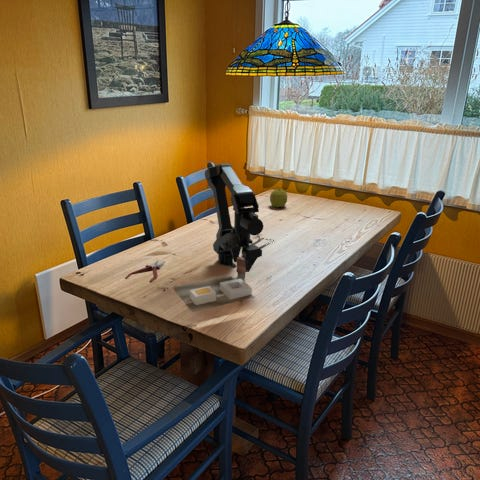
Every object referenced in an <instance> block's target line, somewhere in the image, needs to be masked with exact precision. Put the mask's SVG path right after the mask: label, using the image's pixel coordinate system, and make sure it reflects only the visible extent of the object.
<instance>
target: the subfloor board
mask: <svg viewBox="0 0 480 480" xmlns="http://www.w3.org/2000/svg"><path fill="white" fill-rule="evenodd" d="M230 280H235V278H233V277H232V276H231V275H227V276H222V277H217V278H213V279H208V280H203V281H198V282H194V283H188V284H185V285H184V284H183V285H179V286H175V287H174V286H173V287H172V288H173V290H174V291H175V293H176V294H177V295H178V296H179V297H180V298H181V299H182V302H184V303H185V305H186V306H187V307H188V308H189V310H190V311H191V312H192V313H194V312H199V311H202V310H206V309H210V308H215V307H219V306H224V305H228V304H233V303H236V302H240V301H244V300H249V299H253V298H255V296H254V295H253V294H252V295H247V296H243V297H239V298H235V299H229V298H228V297H227V296H226V295H225V294H224V293H223V292H222V291H221V290H220V283H221V282H225V281H230ZM207 286H210V287H211V288H212V289H213V290H214V291H215V292H216V301H212V302H208V303H203V304H199V305H195V304H194V303H193V301H192V300H191V299H190V290H193V289H198V288H203V287H207Z"/></svg>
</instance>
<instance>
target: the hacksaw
mask: <svg viewBox="0 0 480 480" xmlns="http://www.w3.org/2000/svg"><path fill="white" fill-rule="evenodd" d="M256 236H258V239H257V241H254V242H253V243H251V244H249V246H253V245H256V244H258V243H260V242H261V241H263V240H264V238H265V237H264V238H263V237H260V235H259V234H258V235H256ZM265 239H266V240H267V241H271V240H273V241H274V239H269V238H265ZM268 239H269V240H268ZM273 241H272V242H273ZM274 242H275V241H274ZM266 244H267V243H264V244H263V245H260V246H258V247H259V248H260V249H262V248H264V247H266V246H268V245H269V244H267V245H266ZM242 249H243V248H242V247H241V250H242Z"/></svg>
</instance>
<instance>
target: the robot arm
mask: <svg viewBox="0 0 480 480" xmlns="http://www.w3.org/2000/svg"><path fill="white" fill-rule="evenodd" d="M204 177H205V180H206V182H207V186H208V187H209V188H210V189H211V190H212V193H213V198H214V205H215V211H216V216H217V223H218V229H217V232H216V234H215V235H216V236H215V237H216V239H215V241H214V243H212V244H213V245H212V247H213V251H214V252H215V253H216V254H217V255H218V257H217V258H218V260H217V261H218V262H217V263H218V264H220V265H222V266H226V267H231V268H235V267H236V268H237V264H236V263H237V257H240V254H241V256H242V257H243V258H244V259H245V268H246V273H249V272H250V271H251V270H252V268H253V266H254V264H255V263H256V261H257V260H258V258H260V257H262V256H263V250H262V248H259V247H260V246H257V245H256V244H254V245H253V246H249V245H250V244H252V243H254V242H253V240H252V239H251V236H257V235H258V236H259V235H261V233H262V232H263V229H264V223H263V221H262V220H261V219H260V218H259V214H257V213H259V212H260V210H259V206H260V205H259V203H258V201H257V196H256V194H255V193H254V191H253V190H252V189H251V188H250V187H249V186H246V185H244V184H243V183H242V181H241V180H240V179H239V177H238V175H237V173H236V172H235V171H234V170H233V166H232V164H230V163H219V164H217V165H215V166H209V167H207V169H206V170H204ZM226 187H227V189H228V190H229V192H230V202H231V204H232V210H233V211H234V216H233V217H234V219H233V222H234V223H233V224H234V225H232V221H231V215H230V214H231V213H230V209H229V205H228V198H227V197H228V196H227V191H226ZM241 248H243V249H241Z"/></svg>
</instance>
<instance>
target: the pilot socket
mask: <svg viewBox="0 0 480 480" xmlns="http://www.w3.org/2000/svg"><path fill="white" fill-rule="evenodd" d="M220 290H221V291H222V292H223V293H224V294H225V295H226V296H227V297H228V298H229V299H235V298H239V297H243V296H247V295H253V292H252V291H253V287H252V286H251V285H249V284H248V283H247V282H245V281H244V279H241V278H240V279H238V278H234V280H230V281H225V282H221V283H220Z"/></svg>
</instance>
